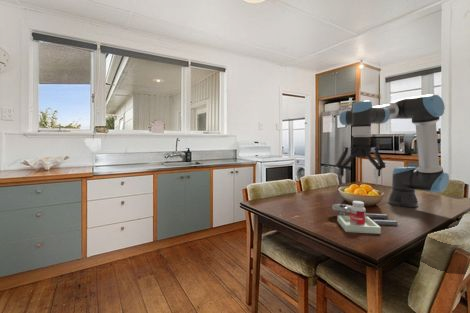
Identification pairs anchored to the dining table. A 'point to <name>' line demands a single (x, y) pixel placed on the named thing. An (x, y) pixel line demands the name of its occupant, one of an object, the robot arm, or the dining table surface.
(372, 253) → the dining table surface
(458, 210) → the dining table surface
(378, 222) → the tensioner bracket
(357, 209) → the pill bottle
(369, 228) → the tray
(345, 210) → the pulley
